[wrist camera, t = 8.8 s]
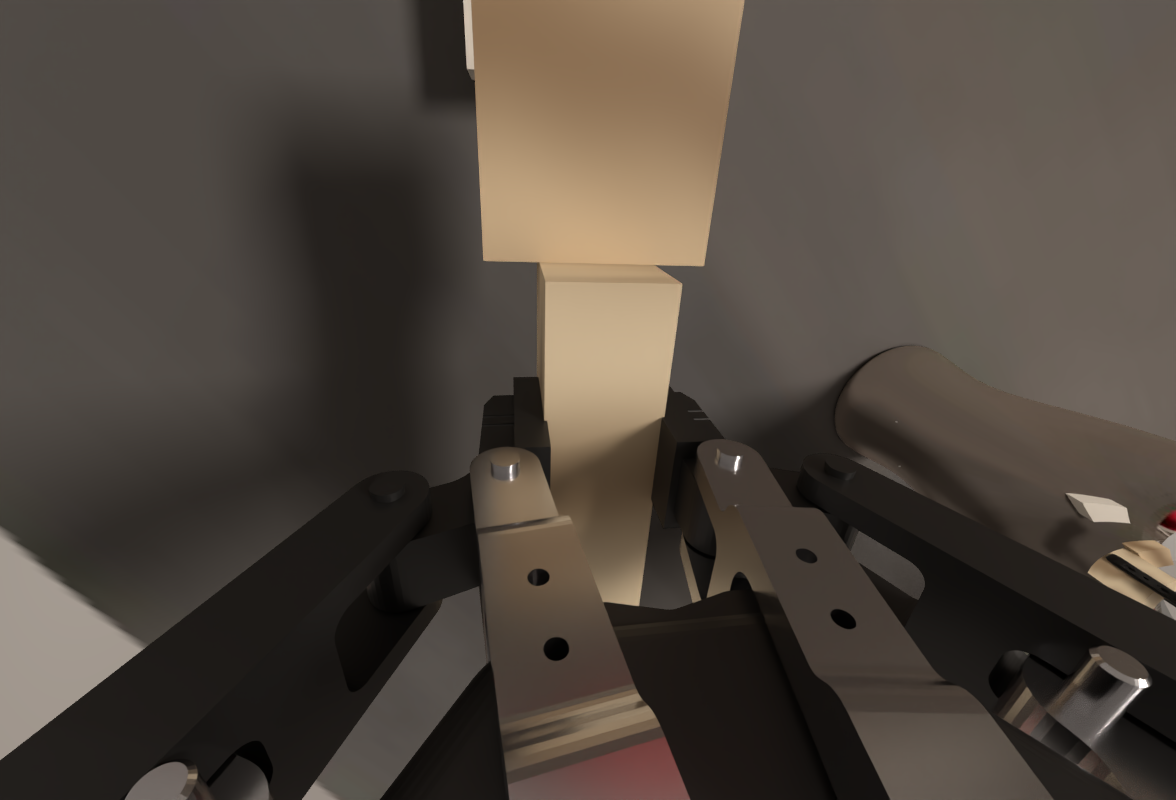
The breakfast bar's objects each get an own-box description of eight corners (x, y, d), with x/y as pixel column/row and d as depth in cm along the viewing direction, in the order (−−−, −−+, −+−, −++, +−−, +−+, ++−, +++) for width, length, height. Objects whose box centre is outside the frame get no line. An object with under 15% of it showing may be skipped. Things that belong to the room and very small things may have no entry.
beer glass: (946, 309, 22) (1623, 531, 9) (961, 419, 25) (1469, 705, 12) (810, 380, 22) (1241, 689, 9) (841, 478, 26) (1194, 813, 12)
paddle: (647, 557, 16) (674, 634, 13) (500, 569, 15) (498, 653, 13) (733, -60, 9) (826, -154, 6) (469, -95, 8) (450, -220, 6)
